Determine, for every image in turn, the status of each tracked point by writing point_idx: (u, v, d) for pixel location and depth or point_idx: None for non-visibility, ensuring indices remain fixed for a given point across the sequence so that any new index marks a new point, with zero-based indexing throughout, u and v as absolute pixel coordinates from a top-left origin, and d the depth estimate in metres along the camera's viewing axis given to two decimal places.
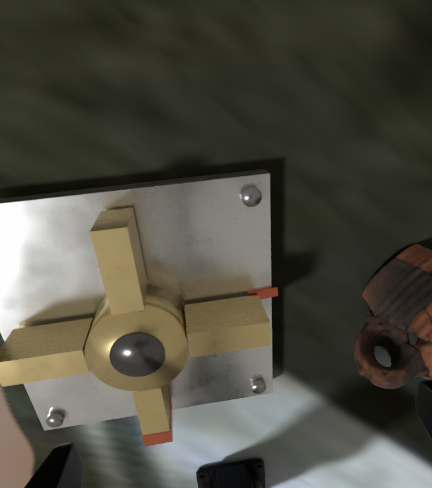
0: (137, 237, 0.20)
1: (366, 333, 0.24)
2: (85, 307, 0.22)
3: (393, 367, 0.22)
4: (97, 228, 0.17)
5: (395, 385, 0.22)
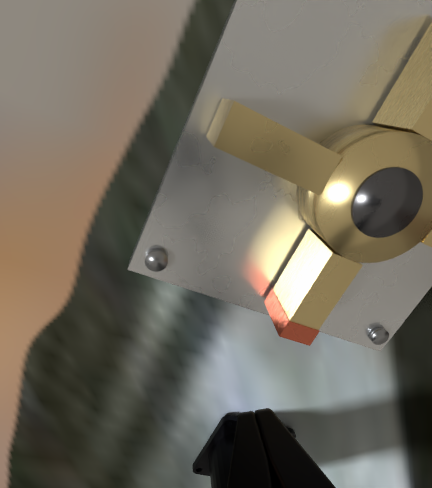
0: None
1: None
2: (313, 127, 0.17)
3: None
4: None
5: None
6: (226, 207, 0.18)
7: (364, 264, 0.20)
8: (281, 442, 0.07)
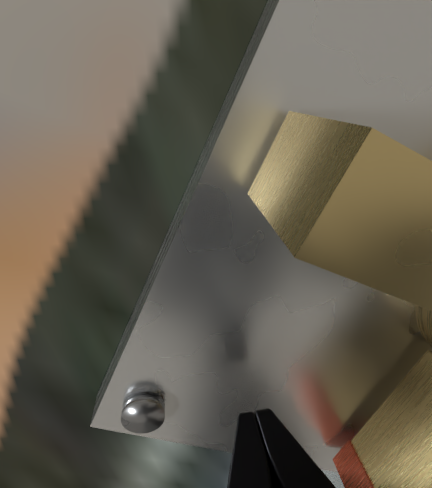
0: None
1: None
2: None
3: None
4: None
5: None
6: (278, 319, 0.09)
7: None
8: (281, 442, 0.07)
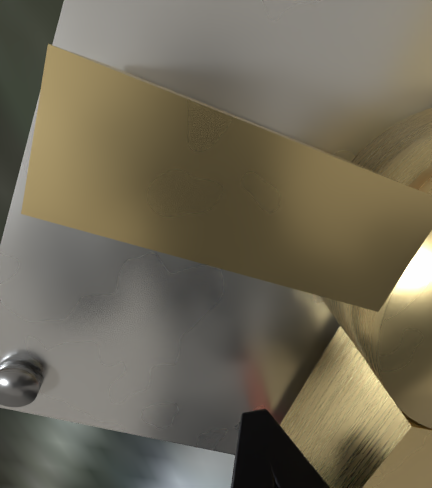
0: None
1: None
2: (352, 108, 0.07)
3: None
4: None
5: None
6: (158, 280, 0.08)
7: None
8: (277, 443, 0.07)
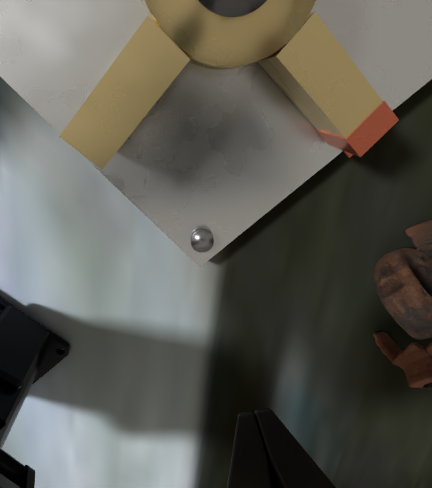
0: None
1: (405, 254, 0.18)
2: None
3: None
4: None
5: (421, 314, 0.16)
6: None
7: (209, 125, 0.16)
8: (281, 442, 0.07)
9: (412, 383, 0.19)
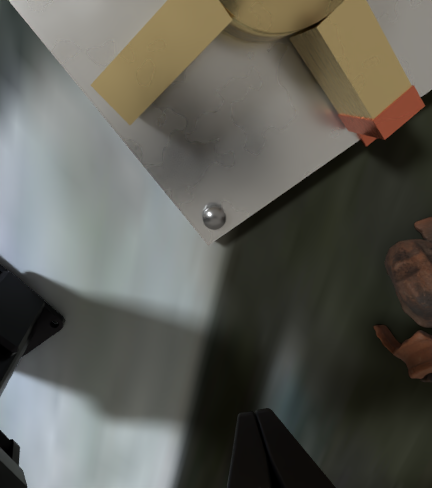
0: None
1: (417, 243, 0.18)
2: None
3: None
4: None
5: None
6: None
7: (234, 98, 0.16)
8: (281, 442, 0.07)
9: (415, 372, 0.19)
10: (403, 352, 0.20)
